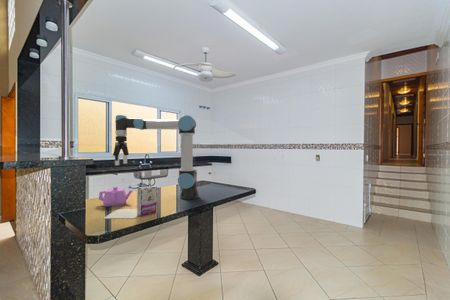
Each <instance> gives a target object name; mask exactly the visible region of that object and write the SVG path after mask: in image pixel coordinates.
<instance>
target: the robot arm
mask: <svg viewBox="0 0 450 300" xmlns="http://www.w3.org/2000/svg"><path fill="white" fill-rule="evenodd" d="M196 126H197V122H196V120H195V119H194V118H193V117H192V116H191V115H187V114H184V115H181V116H180V117H179V118H178V119H172V120H171V119H143V118H141V117H127V115H125V114H117V115H116V116H115V131H114V132H115V141H116V142H115V143H114V149H113V155H112V156H113V157H114V165H115V166H120V156H119V155H120V153H121V151H122V153H123V155H122V157H123V158H122V161H123V163H122V164H123V165H124V164H128V156H129V149H128V143H127V139H128V138H127V137H128V135H127V134H128V131H127V129H136V130H137V129H138V130H139V131H140V130H142V131H143V130H173V131H174V130H175V131H176V130H177V131H178V134H179V135H180V169H179V170H178V178H177V183H178V186H179V187H180V188H181V191H180V194H179V199H182V200H196V199H199V198H200V197H199V196H200V195H199V191H198V188H197V187H198V186H197V184H198V183H197V178H198V177H197V176H198V172H197V169H195V168H194V167H193V161H194V160H193V159H194V155H193V152H194V151H193V150H194V148H193V145H194V144H193V143H194V142H193V141H194V140H193V139H194V138H193V137H194V135H195V133H196V132H195V131H196V130H195V128H196Z"/></svg>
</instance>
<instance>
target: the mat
mask: <svg viewBox="0 0 450 300" xmlns="http://www.w3.org/2000/svg"><path fill="white" fill-rule="evenodd" d="M137 217H139V215H137V208H127V209H126V208H119V209H118V208H117V209H116V210H114V211H113V212H111V213H109V214H107V215H105V217H103V220H107V219H108V220H109V219H110V220H112V219H113V220H117V219H118V220H124V219H126V220H134V219H136V218H137Z"/></svg>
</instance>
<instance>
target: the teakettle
mask: <svg viewBox="0 0 450 300" xmlns="http://www.w3.org/2000/svg"><path fill="white" fill-rule="evenodd" d="M132 193H133V189H132V190H131V189H130V190H128V193H127V191H126V188H125V187H124V188H123V187H121V188H119V187H118V186H112V188H107V189H106V190H100V191H99V195H98V200H99V201H102V202H103V207H118V206H119V207H122V206H125V204H126V203H127V200H128V199H129V197H130V196H131V195H132Z"/></svg>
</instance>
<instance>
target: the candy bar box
mask: <svg viewBox="0 0 450 300" xmlns="http://www.w3.org/2000/svg"><path fill="white" fill-rule="evenodd" d="M136 192H137V194H136V197H137V198H136V201H137V202H136V204H137V205H136V209H137V215H138V217H139V216H140V217H144V216H148V215H152V214H156V213H158V212H157V210H158V209H157V207H158V206H157V204H158V186H155V185H151V186H143V187H137V191H136Z"/></svg>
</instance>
